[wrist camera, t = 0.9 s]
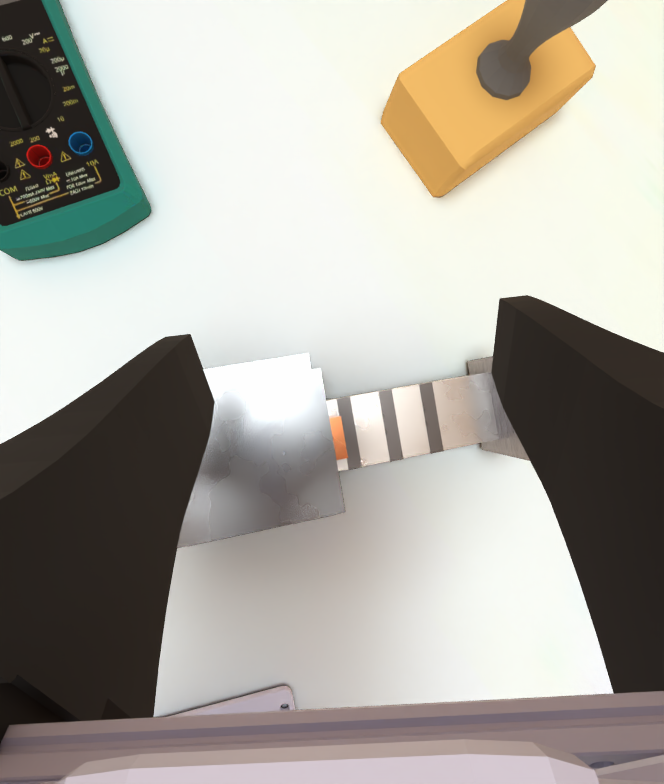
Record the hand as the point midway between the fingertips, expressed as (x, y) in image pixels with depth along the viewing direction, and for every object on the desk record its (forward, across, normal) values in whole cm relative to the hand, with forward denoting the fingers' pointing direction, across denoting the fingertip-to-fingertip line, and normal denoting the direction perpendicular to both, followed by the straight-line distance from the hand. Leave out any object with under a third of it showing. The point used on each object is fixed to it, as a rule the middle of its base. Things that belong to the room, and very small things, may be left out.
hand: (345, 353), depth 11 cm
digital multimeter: (+19, +15, -5) cm, 25 cm away
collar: (+8, +6, +11) cm, 15 cm away
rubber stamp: (+22, -8, -2) cm, 24 cm away
